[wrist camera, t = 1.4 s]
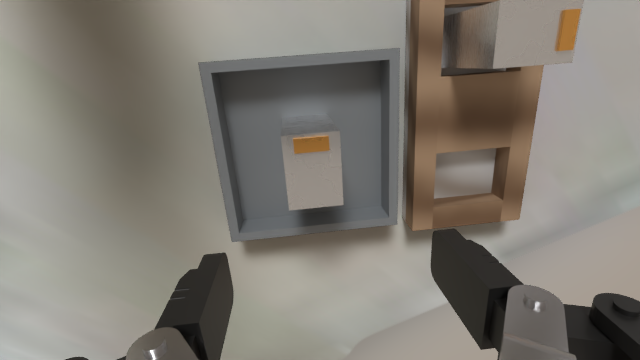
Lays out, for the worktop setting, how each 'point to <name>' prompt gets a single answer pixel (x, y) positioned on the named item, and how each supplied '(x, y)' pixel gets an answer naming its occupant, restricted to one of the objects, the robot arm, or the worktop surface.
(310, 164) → the block
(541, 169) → the worktop surface
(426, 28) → the pallet
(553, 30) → the block
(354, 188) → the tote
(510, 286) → the robot arm
